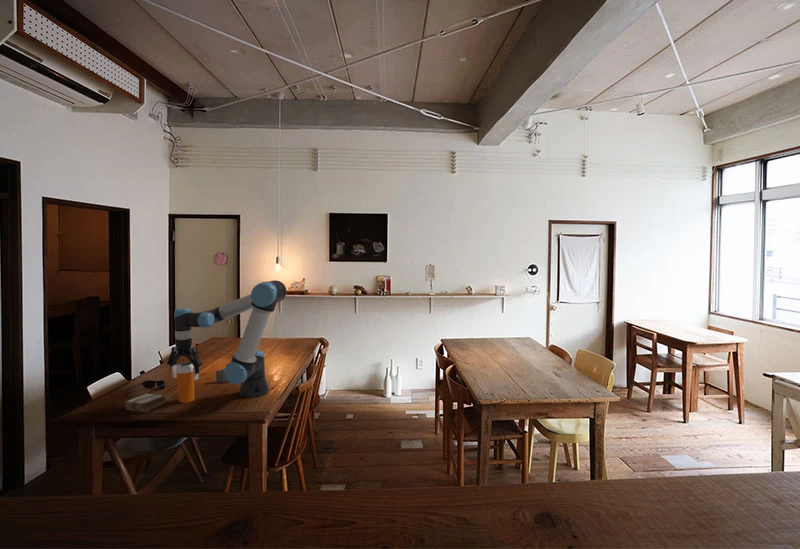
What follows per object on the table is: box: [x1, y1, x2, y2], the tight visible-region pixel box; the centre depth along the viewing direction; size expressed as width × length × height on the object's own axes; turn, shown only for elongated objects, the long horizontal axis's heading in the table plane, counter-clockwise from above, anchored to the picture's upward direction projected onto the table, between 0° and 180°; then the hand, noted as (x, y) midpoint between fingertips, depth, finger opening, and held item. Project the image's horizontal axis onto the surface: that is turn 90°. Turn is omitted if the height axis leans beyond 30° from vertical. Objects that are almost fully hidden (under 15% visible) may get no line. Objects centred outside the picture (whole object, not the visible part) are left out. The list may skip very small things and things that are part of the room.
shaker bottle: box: [176, 361, 195, 404], centre depth 216 cm, size 9×9×20 cm
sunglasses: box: [130, 379, 166, 398], centre depth 231 cm, size 14×16×5 cm
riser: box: [124, 393, 166, 413], centre depth 209 cm, size 12×12×4 cm
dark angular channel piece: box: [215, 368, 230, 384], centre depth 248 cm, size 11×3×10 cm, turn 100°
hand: (185, 378), depth 216 cm, fingers open, 13 cm apart
